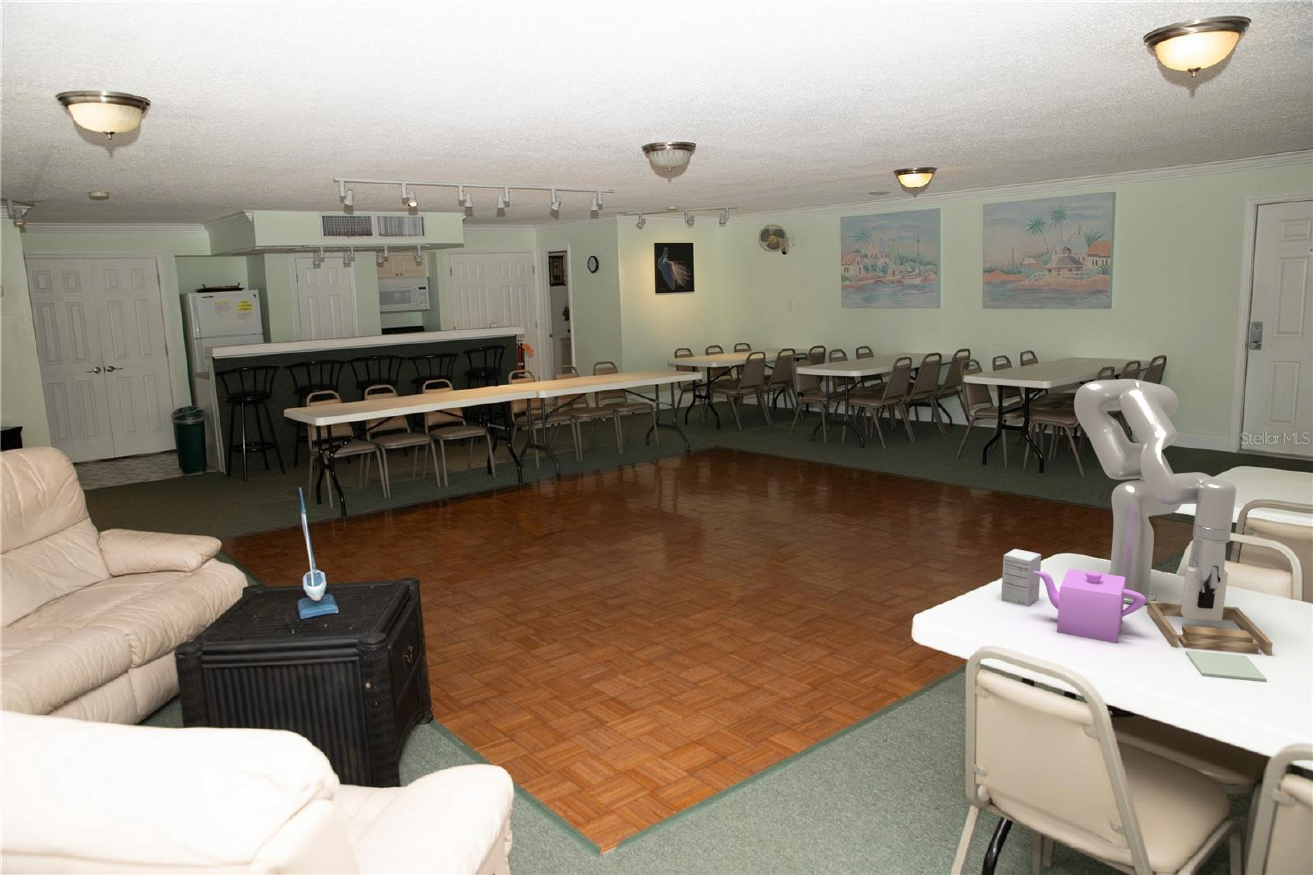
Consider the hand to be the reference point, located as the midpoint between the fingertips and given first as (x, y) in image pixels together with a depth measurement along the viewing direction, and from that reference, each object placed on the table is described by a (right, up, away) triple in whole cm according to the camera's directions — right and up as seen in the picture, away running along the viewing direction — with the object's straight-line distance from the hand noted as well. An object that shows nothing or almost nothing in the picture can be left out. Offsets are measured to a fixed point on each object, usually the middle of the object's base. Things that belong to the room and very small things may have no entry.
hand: (1202, 604), depth 212 cm
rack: (0, -6, -1) cm, 7 cm away
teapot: (-27, -6, +4) cm, 28 cm away
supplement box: (-35, -3, +22) cm, 42 cm away
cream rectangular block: (0, -3, +1) cm, 3 cm away
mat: (-8, -10, -20) cm, 23 cm away
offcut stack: (-3, -8, -9) cm, 13 cm away
